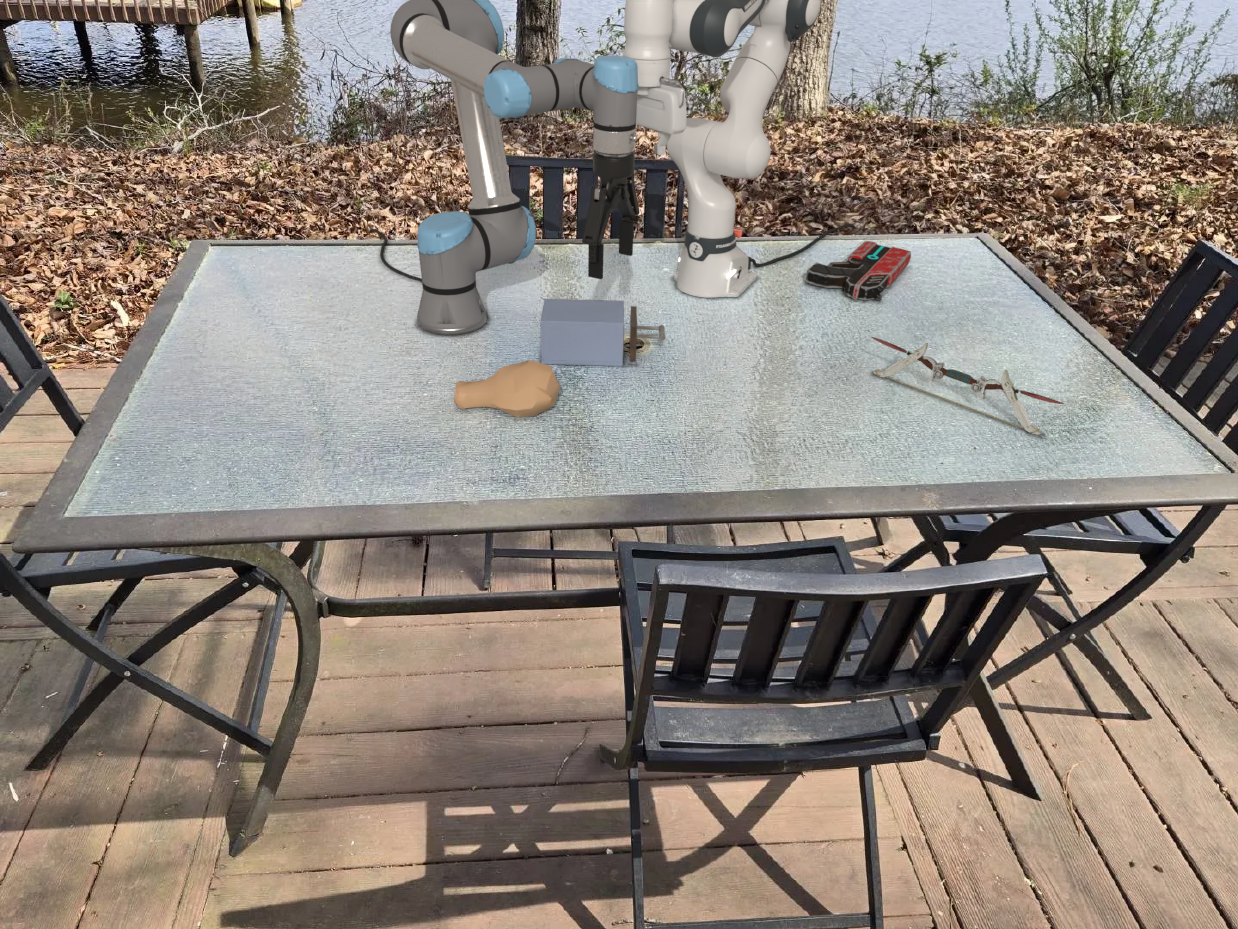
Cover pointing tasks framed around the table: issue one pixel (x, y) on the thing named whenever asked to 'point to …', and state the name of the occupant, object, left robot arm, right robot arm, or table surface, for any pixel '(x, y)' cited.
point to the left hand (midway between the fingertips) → (611, 265)
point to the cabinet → (582, 332)
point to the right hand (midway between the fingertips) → (643, 149)
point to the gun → (862, 271)
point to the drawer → (634, 335)
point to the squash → (512, 390)
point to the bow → (976, 386)
